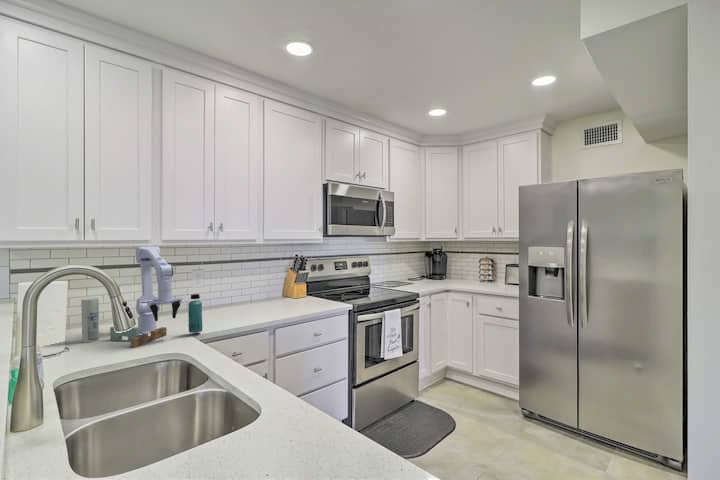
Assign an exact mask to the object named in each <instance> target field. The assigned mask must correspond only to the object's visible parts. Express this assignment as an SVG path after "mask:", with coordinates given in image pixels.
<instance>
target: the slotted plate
mask: <svg viewBox="0 0 720 480" xmlns="http://www.w3.org/2000/svg"><path fill="white" fill-rule="evenodd" d="M114 327H115V326H111V327H109V331H110V332H109V335H110V337H109V338H110V341H117V342H118V341H121V339H122V340H123V338H124V337H125V338H127V342H130V338H133V337H136V336H138V335H141V333H140V327H138V326H132V327H133V328H132V329H131V330H129V331H126V332H122V333H116V332H115V331H114Z"/></svg>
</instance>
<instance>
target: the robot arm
mask: <svg viewBox="0 0 720 480" xmlns="http://www.w3.org/2000/svg"><path fill="white" fill-rule="evenodd" d="M135 259H136V263H138V264H139V265H140V274H141V275H140V277H141V292H142V295H141V296H140V297H138V298H137V299H136V304H135V311H136V314H137V315H138V318H137V323H138V324H137V327H140V334H149V333H151V331H153V330H155V329H158V328H157V322H158V320H159V317H158V312H159V311H160V310H161V305H165V304H166V305H167V304H171V308H172V313H171V314H172V315H171V316H172V319H176V316H177V314H178V311H179V308H180V306H181V303H183V298H182V297H172V296H173V291H172V288H173V287H172V286H173V284H172V283H173V282H172V280H173V279H172V277H173V276H174V272H175V269H174V266H173V264H168V262H167V261H166V260H165V258H163V257H162V256H161V249H160V247H159V246H158V245H155V246H153V245H152V246H150V245H149V246H137V247H136V249H135ZM152 267H153V268H154V270H155V276H156V281H157V295H155V294H154V291H153V290H154V289H153V274H152V272H153V271H152Z"/></svg>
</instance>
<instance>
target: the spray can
mask: <svg viewBox="0 0 720 480" xmlns="http://www.w3.org/2000/svg"><path fill="white" fill-rule="evenodd" d="M99 301H100V300H99V297H85V298H82V299H81V301H80V302H81V304H80V305H81V306H80V307H81V308H80V309H81V337H82V338H81V339H82V343H84V344H86V343H95V342H98V341H99V340H100V330H99V329H100V327H99V326H100V322H99V321H100V319H99V316H100V314H99V313H100V312H99V311H100V310H99V309H100V308H99V305H100V303H99Z"/></svg>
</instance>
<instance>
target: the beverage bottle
mask: <svg viewBox="0 0 720 480" xmlns="http://www.w3.org/2000/svg"><path fill="white" fill-rule="evenodd" d="M200 297H201V296H200V294H199V293H194V294H191V295H190V300H191V301H190V302H188V303H187V304H188V308H187V309H188V332H189V333H190V334H196V333H200V332H202V331H203V302H202V301H200V300H198V299H201V298H200Z"/></svg>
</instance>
